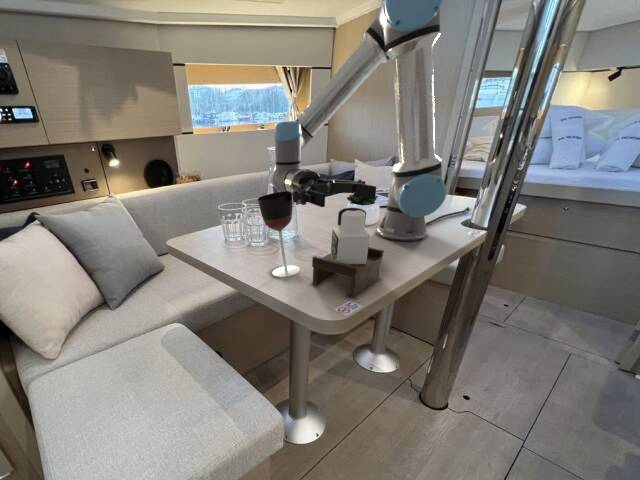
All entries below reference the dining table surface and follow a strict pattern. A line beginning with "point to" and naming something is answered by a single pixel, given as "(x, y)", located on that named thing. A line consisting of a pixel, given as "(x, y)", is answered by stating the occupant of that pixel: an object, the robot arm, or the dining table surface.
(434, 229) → the dining table surface
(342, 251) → the medicine bottle
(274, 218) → the wineglass
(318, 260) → the stand
